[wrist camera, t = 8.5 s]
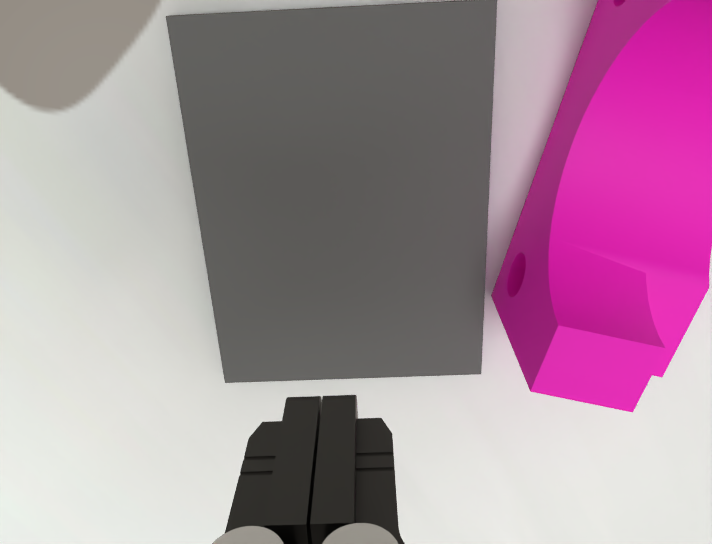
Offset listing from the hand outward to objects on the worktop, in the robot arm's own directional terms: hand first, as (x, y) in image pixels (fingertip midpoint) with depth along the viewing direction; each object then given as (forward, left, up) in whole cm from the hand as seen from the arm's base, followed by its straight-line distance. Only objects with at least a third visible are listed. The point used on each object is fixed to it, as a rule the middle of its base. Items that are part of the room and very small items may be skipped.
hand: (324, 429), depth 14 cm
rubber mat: (0, 0, -14) cm, 14 cm away
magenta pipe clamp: (-2, +12, -15) cm, 19 cm away
